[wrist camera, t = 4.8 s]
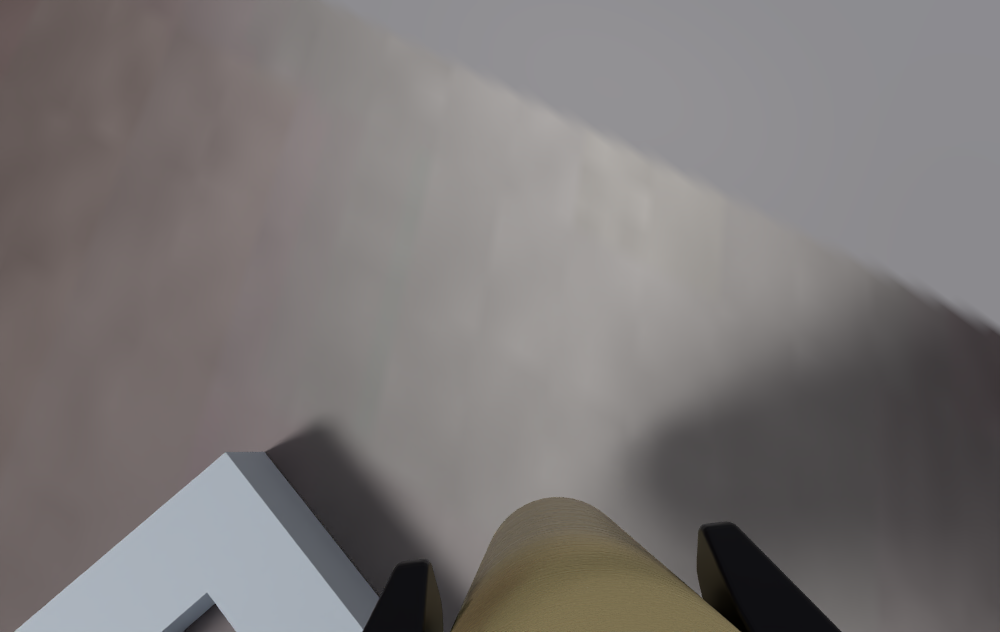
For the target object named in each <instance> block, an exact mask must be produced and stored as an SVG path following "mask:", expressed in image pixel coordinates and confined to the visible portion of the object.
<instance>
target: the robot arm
mask: <svg viewBox="0 0 1000 632" xmlns="http://www.w3.org/2000/svg"><path fill="white" fill-rule="evenodd" d="M697 575H698V580H699V585H700V589H701V593H702V597H703V599H704V600H705V601H706V602H707V603H708V604H709V605H710V606H712V607H713V608H714V609H715V610H716V611H717V612H719V613H720V614H721V615H722V616H723V617H724V618H726V619H727V620H728V621H729V622H730V623H731V624H732V625H734V626H735V627H736V628H737V629H738V630H739V631H741V632H841V631H840V630H839V629H838V628H837V627H836V626H835V625H834V624H833V623H832V622H831V621H830V620H829V619H828V618H827V617H826V616H825V615H824V614H823V613H822V612H821V611H820V609H819V608H818V607H817V606H816V605H815V604H814V603H813V602H812V601H811V600H810V599H809V598H808V597H807V596H806V595H805V594H804V593H803V592H802V591H801V590H800V589H799V588H798V587H797V586H796V585H795V584H794V583H793V582H792V581H791V580H790V579H789V578H788V577H787V576H786V575H785V574H784V573H783V572H782V571H781V570H780V569H779V568H778V567H777V566H776V565H775V564H774V563H773V562H772V561H771V560H770V559H769V558H768V557H767V556H766V555H765V554H764V553H763V552H762V551H761V550H760V549H759V548H758V547H757V546H756V545H755V544H754V543H753V542H752V541H751V540H750V539H749V538H748V537H747V536H746V535H745V534H744V533H743V532H742V531H741V530H740V529H739V528H738V527H737V526H736V525H735V524H734V523H731V522H718V523H710V524H704V525H702V526H701V527H700V529H699V532H698V548H697ZM362 632H443V615H442V604H441V598H440V594H439V590H438V587H437V583H436V579H435V576H434V572H433V568H432V565H431V563H430V562H429V560H427V559H420V560H412V561H404V562H401V563H399V564H398V565H397V566H396V567H395V569H394V570H393V572H392V574H391V576H390V578H389V580H388V582H387V584H386V586H385V588H384V590H383V592H382V594H381V596H380V598H379V600H378V602H377V604H376V606H375V608H374V610H373V612H372V613H371V615H370V617H369V619H368V621H367V623H366V625H365V627H364V629H363V631H362Z"/></svg>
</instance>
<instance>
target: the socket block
mask: <svg viewBox="0 0 1000 632" xmlns="http://www.w3.org/2000/svg"><path fill="white" fill-rule="evenodd" d="M378 600H379V597H378V595H377V594H376V593H375V592H374V590H373V589H372V588H371V587H370V585H369V584H368V583H367V582H366V580H365V579H364V578H363V576H362V575H361V574H360V573H359V571H358V570H357V569H356V568H355V566H354V565H353V564H352V562H351V561H350V560H349V559H348V557H347V556H346V555H345V554H344V552H343V551H342V550H341V549H340V547H339V546H338V545H337V543H336V542H335V541H334V540H333V538H332V537H331V536H330V535H329V533H328V532H327V531H326V529H325V528H324V527H323V526H322V524H321V523H320V522H319V521H318V519H317V518H316V517H315V515H314V514H313V513H312V512H311V510H310V509H309V508H308V507H307V505H306V504H305V503H304V502H303V500H302V499H301V498H300V496H299V495H298V494H297V493H296V491H295V490H294V489H293V488H292V486H291V485H290V484H289V482H288V481H287V480H286V479H285V477H284V476H283V475H282V474H281V472H280V471H279V470H278V469H277V467H276V466H275V465H274V463H273V462H272V461H271V460H270V458H269V457H268V456H267V455H266V453H265V452H225V453H224V454H223V455H222V456H221V457H219V458H218V459H217V460H216V461H215V462H213V463H212V464H211V465H210V466H209V467H208V468H206V469H205V470H204V471H203V472H202V473H201V474H199V475H198V476H197V477H196V478H195V479H193V480H192V481H191V482H190V483H189V484H188V485H186V486H185V487H184V488H183V489H182V490H181V491H179V492H178V493H177V494H176V495H175V496H173V497H172V498H171V499H170V500H169V501H168V502H166V503H165V504H164V505H163V506H162V507H161V508H159V509H158V510H157V511H156V512H155V513H153V514H152V515H151V516H150V517H149V518H148V519H146V520H145V521H144V522H143V523H142V524H140V525H139V526H138V527H137V528H136V529H135V530H133V531H132V532H131V533H130V534H129V535H128V536H126V537H125V538H124V539H123V540H122V541H120V542H119V543H118V544H117V545H116V546H115V547H113V548H112V549H111V550H110V551H109V552H108V553H106V554H105V555H104V556H103V557H102V558H100V559H99V560H98V561H97V562H96V563H95V564H93V565H92V566H91V567H90V568H89V569H88V570H86V571H85V572H84V573H83V574H82V575H80V576H79V577H78V578H77V579H76V580H75V581H73V582H72V583H71V584H70V585H69V586H67V587H66V588H65V589H64V590H63V591H62V592H60V593H59V594H58V595H57V596H56V597H55V598H53V599H52V600H51V601H50V602H49V603H47V604H46V605H45V606H44V607H43V608H42V609H40V610H39V611H38V612H37V613H36V614H35V615H33V616H32V617H31V618H30V619H29V620H27V621H26V622H25V623H24V624H23V625H22V626H20V627H19V628H18V629H17V630H16V631H15V632H183V631H184V630H185V629H186V628H187V627H189V626H190V625H191V624H192V623H193V622H194V621H196V620H197V619H198V618H199V617H200V616H201V615H202V614H204V613H205V612H206V611H207V610H208V609H209V608H210V607H212V606H213V605H214V604H216V605H217V606H218V608H219V609H220V611H221V612H222V613H223V615H224V616H225V617H226V619H227V620H228V621H229V623H230V624H231V625H232V627H233V628H234V629H235V631H236V632H362V631H363V629H364V627H365V625H366V623H367V621H368V619H369V617H370V615H371V613H372V612H373V610H374V608H375V606H376V604H377V602H378Z"/></svg>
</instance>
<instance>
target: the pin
mask: <svg viewBox="0 0 1000 632" xmlns="http://www.w3.org/2000/svg"><path fill="white" fill-rule="evenodd" d="M450 632H741V631H739V630H738V629H737V628H736V627H735V626H734V625H732V624H731V623H730V622H729V621H728V620H727V619H726V618H724V617H723V616H722V615H721V614H720V613H719V612H717V611H716V610H715V609H714V608H713V607H712V606H710V605H709V604H708V603H707V602H706V601H705V600H704V599H702V598H701V597H700V596H699V595H698V594H697V593H695V592H694V591H693V590H692V589H691V588H690V587H689V586H687V585H686V584H685V583H684V582H683V581H682V580H680V579H679V578H678V577H677V576H676V575H675V574H673V573H672V572H671V571H670V570H669V569H668V568H667V567H665V566H664V565H663V564H662V563H661V562H660V561H658V560H657V559H656V558H655V557H654V556H653V555H651V554H650V553H649V552H648V551H647V550H646V549H645V548H643V547H642V546H641V545H640V544H639V543H638V542H636V541H635V540H634V539H633V538H632V537H631V536H629V535H628V534H627V533H626V532H625V531H624V530H623V529H621V528H620V527H619V526H618V525H617V524H616V523H614V522H613V521H612V520H611V519H610V518H609V517H607V516H606V515H605V514H604V513H602V512H601V511H600V510H598V509H597V508H595V507H593V506H591V505H589V504H587V503H585V502H582V501H579V500H575V499H571V498H564V497H552V498H544V499H540V500H536V501H533V502H531V503H528V504H526V505H524V506H523V507H521V508H519V509H517V510H516V511H515V512H514V513H512V514H511V515H510V516H509V517H508V518H507V519H506V520H505V521H504V522H503V523H502V524H501V525H500V527H499V528H498V529H497V531H496V533H495V534H494V536H493V538H492V540H491V542H490V544H489V547H488V549H487V551H486V553H485V555H484V558H483V560H482V562H481V564H480V567H479V569H478V571H477V573H476V576H475V578H474V580H473V582H472V584H471V587H470V589H469V591H468V593H467V596H466V598H465V600H464V602H463V604H462V607H461V609H460V611H459V613H458V616H457V618H456V620H455V622H454V625H453V627H452V629H451V631H450Z"/></svg>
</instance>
